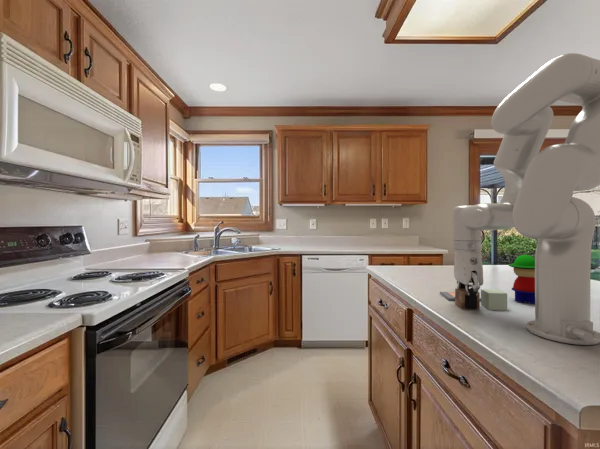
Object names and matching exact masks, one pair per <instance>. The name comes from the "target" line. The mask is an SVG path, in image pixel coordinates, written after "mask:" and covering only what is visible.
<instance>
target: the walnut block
mask: <svg viewBox="0 0 600 449" xmlns="http://www.w3.org/2000/svg"><path fill="white" fill-rule="evenodd" d="M469 290H470V288H469ZM454 292H455V301H454V304H455V306H457V307H458V308H459V309H461V310H467V309H466V308H465V295H466V289H457V288H455V289H454ZM480 298H481V292H479V291H478V296H477V309H476V310H477V311H478V310H480V308H481V307H480V306H481V301H480Z"/></svg>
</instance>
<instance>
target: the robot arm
mask: <svg viewBox="0 0 600 449" xmlns="http://www.w3.org/2000/svg"><path fill="white" fill-rule="evenodd" d="M557 101H559V102H564V103H570V104H575V105H578V106H581V108H582V109H581V111H579V113H578V114H577V115H576V117H575V118H574V120H573V121H572V123H571V125H570V128H569V130H568V133H567V137H566V139H565V140H564V143H557V144H556V143H555V144H552V145H549V146H547V147H544V148H543V149H542V145H543V143H544V141H545V139H546V137H547V135H548V132H549V130H550V128H551V125H552V123H553V121H554V117H555V116H554V111H553V108H552V107H551V106H552V105H553V104H555V103H556V102H557ZM490 123H491V127H492V129H493V130H494V131H495V132H496V133H498V134H499V135H500V134H502V135H503V138H502V140H501V143H500V144H499V148H498V151H497V152H496V155H495V158H494V160H493V167H494V168H495V169H496V170H497V171H498V172H499V174H501V176H502V178H503V180H504V191H503V194H502V197H501V198H500V201H499V202H498V203H495V202H494V203H490V202H489V203H487V202H486V203H478V204H477V203H476V204H473V205H471V204H470V205H469V204H468V205H458V206H457V205H456V206H454V208H453V209H452V251H454V258H453V260H454V262H453V263H454V264H453V275H454V279H455V281H456V289H466V295H465V308H466V309H465V310H477V296H478V292H479V290H481V286H483V285H484V268H483V259H482V253H481V252H482V231H500V230H503V231H504V230H511V229H513V228H514V229H515V231H516V232H518V234H520V235H521V236H523V237H526V238H529V239H533V240H538V241H537V243H536V244H537V245H536V248H535V256H534V258H535V304H534V320H531V321H528V322H527V323H526V329H527V331H529V332H530V333H532V334H534V335H535V336H538V337H541V338H545V339H546V340H551V341H555V342H559V343H564V344H570V345H577V346H582V345H583V346H592V345H597V344H600V332H598V331H597V330H594V321H591V264H592V256H591V255H592V246H593V244H592V243H593V239H594V238H593V237H594V234H595V228H596V214H595V212H594V210H593V208H592V207H591V205H590V204H588V203H587V201H584V200H583V199H581V198H577V197H574V196H572V195H574V192H583V191H585V192H586V191H589V190H593V189H595V188H597V187H599V186H600V59H599V58H598V59H596V58H593V57H591V56H588V55H584V54H582V53H575V52H571V53H564V54H561V55H559V56H556V57H554V58H553V59H551V60H549V61H548V62H546V63H544V65H542V66H541V67H540V68H538V70H536V71H535V72H534V73H532V75H530V76H529V77H528V78H527V79H526V80H524V81H523V82H522V83H520V84H519V85H518V86H517V87H516V88H515V89H514V90H513V91H512V92H510V93H509V94H508V95H507V96H506V97H505V98H504V99H503V100H502V101H501V102H500V103H499V104H498V105H497V106H496V108H495V110H494V111H493V114H492V116H491V121H490ZM541 149H542V150H541ZM469 289H470V290H469Z"/></svg>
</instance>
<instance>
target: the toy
mask: <svg viewBox="0 0 600 449" xmlns="http://www.w3.org/2000/svg"><path fill="white" fill-rule="evenodd" d="M508 266H509V267H510V268H513V269H512V271H513V273H514V274H515V275H516V278H515V280H514V282H513V285H512V287H511V290H512V291H514V301H515V302H517V303H526V304H531V305H535V256H534V257H533V256H532V255H529V254H521V255H518V256H517V257H516V258H515V260H514V262H513V263H509V264H508Z"/></svg>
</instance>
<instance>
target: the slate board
mask: <svg viewBox="0 0 600 449" xmlns="http://www.w3.org/2000/svg"><path fill="white" fill-rule="evenodd" d="M439 294H440V295H441V296H442V297H443V298H445V299H446V300H447V301H448V302H455V291H440V292H439ZM480 302H481V297H480Z"/></svg>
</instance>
